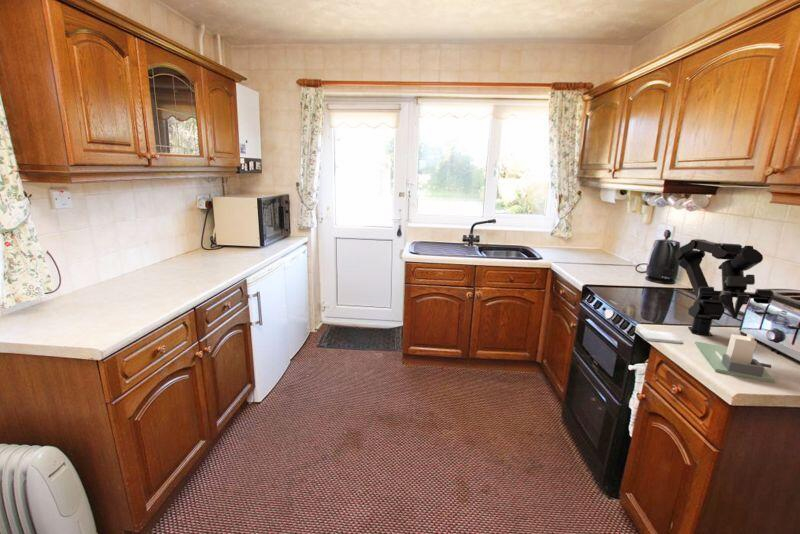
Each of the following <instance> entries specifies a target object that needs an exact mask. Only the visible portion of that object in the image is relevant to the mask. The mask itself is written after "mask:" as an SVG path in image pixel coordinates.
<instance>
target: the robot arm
mask: <svg viewBox="0 0 800 534" xmlns="http://www.w3.org/2000/svg"><path fill="white" fill-rule="evenodd" d="M706 253H709V254H711V256H712V257H713V258H715V259H716V260H725V261H723V262H722V263H721V264H720V265H719V266H718V269H719V270H721V287H722V289H721V290H715V287H714V286H709V284H708V282H707V279H706V277H705V274H704V272H703V269H702V268H701V264H702V261H703V259H704V257H705V256H706ZM674 259H675V261H676V263H677V264H678V266H679V267H681V268H682V269H684V270H685V272H686V274H687V277H688V280H689V283H690V284H691V287H692V290H693V293H694V295H695V300H694V302H693V305H691V306H690V307H689V308H688V311H687V313H688V315H690V317H692V318H693V319H692V323H691V326H688V327H687V328H688V330H689V331H690V332H691V333H692V334H696V335H703V336H706V337H707V336H709V337H713V336H714V334H712V332H711V328H712V325H713V321H714V320H715V321H720V320H721V318H722V317H723V315H724V312H725V309H727V311H728V312H729V315H730V317H732V319H734V320H736V319H737V318H738V316H739V313H740V310H741V308H742V307H743V306H745V305H748V303H749V301H750V299H753V302H755V303H756V304H766V305H768V304H771V303H772V301H773V299H774V297H775V295H774V291H773V290H772V289H770V288H769V289H767V288H756V289H755V290H754V292H753V291H752V292H748V291H747V289H748V286H753V285H755V284H756V280H755V274H746V275H745V274H744V271H749V270H750V269H752V268H753V267H755V266H756V265H759V264H760V263H761V262H762V261H763V259H764V255H763V254H762V253H761V252H760V251H759V250H757V249H756V248H754V246H753V245H744V246H742V244H740V243H727V242H726V243H724V242H723V243H722V242H721V243H720V242H719V243H718V242H714V241H711V240H710V241H709V240H706V239H699V238H698V239H697V238H694V239H691V240H690V241H689V242H688V243H686V244H684V245H682V246H680V247H679V248H678V250H677V251H676V252H675V254H674ZM733 298H735V299H736V300H735V303H734V299H733Z"/></svg>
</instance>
